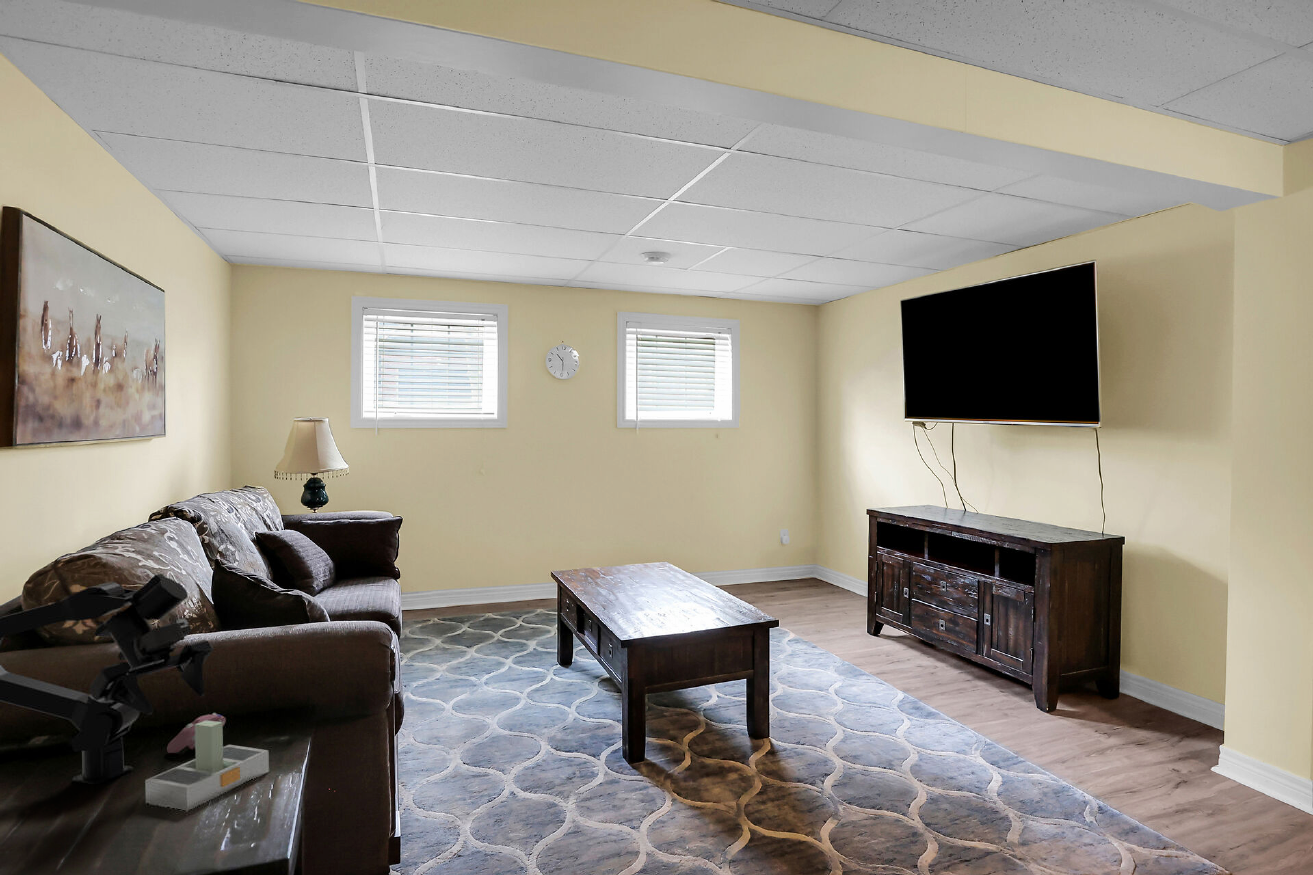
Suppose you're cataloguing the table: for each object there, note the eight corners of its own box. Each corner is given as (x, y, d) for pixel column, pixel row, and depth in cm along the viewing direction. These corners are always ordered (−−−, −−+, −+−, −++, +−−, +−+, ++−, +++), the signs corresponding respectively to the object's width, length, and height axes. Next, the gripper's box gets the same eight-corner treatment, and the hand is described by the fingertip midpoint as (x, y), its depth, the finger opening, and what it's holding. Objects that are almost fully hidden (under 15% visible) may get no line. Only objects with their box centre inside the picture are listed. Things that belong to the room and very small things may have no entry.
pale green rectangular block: (196, 782, 122) (194, 724, 122) (207, 777, 124) (205, 720, 124) (212, 785, 120) (211, 726, 121) (223, 780, 122) (222, 722, 122)
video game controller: (180, 763, 136) (194, 731, 136) (162, 752, 137) (175, 720, 137) (221, 743, 146) (233, 713, 146) (204, 732, 147) (216, 702, 147)
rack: (145, 802, 117) (145, 779, 117) (229, 765, 131) (229, 744, 131) (188, 811, 113) (188, 787, 113) (270, 771, 127) (269, 750, 127)
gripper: (98, 620, 119) (142, 692, 114) (205, 597, 136) (247, 658, 132) (70, 664, 122) (113, 735, 117) (179, 636, 139) (219, 697, 134)
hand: (177, 703), depth 125 cm, fingers open, 9 cm apart
